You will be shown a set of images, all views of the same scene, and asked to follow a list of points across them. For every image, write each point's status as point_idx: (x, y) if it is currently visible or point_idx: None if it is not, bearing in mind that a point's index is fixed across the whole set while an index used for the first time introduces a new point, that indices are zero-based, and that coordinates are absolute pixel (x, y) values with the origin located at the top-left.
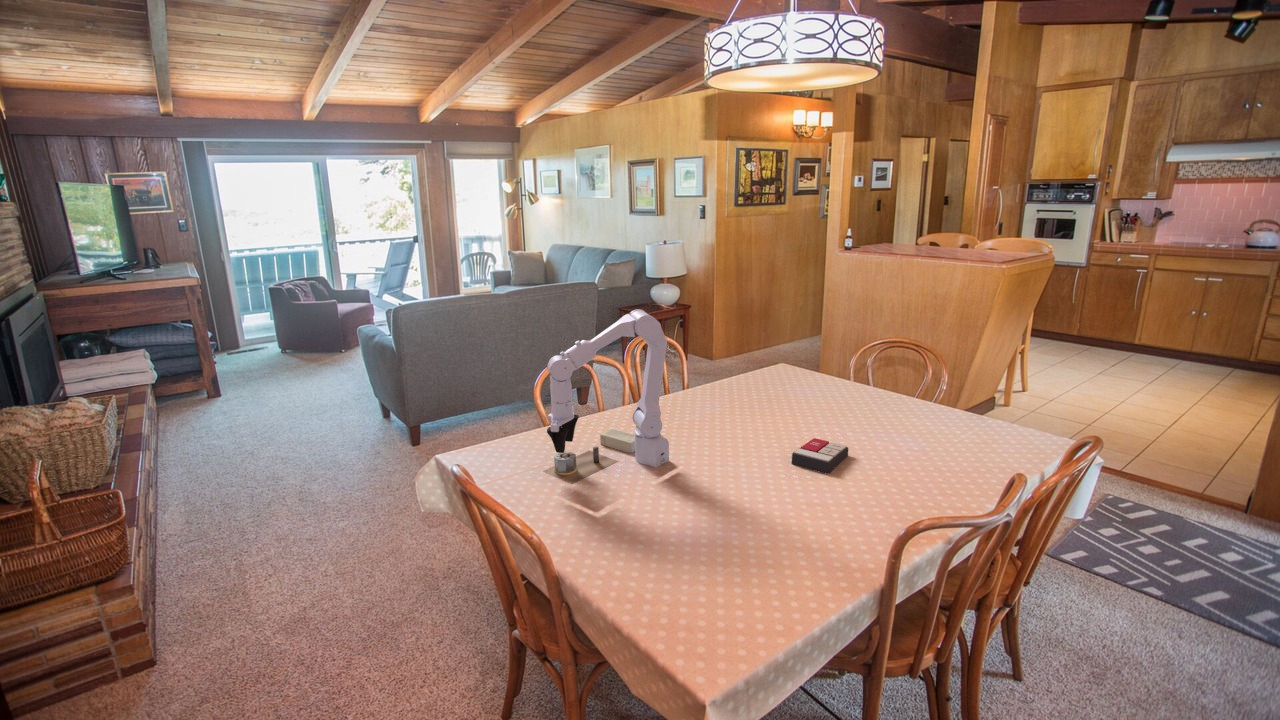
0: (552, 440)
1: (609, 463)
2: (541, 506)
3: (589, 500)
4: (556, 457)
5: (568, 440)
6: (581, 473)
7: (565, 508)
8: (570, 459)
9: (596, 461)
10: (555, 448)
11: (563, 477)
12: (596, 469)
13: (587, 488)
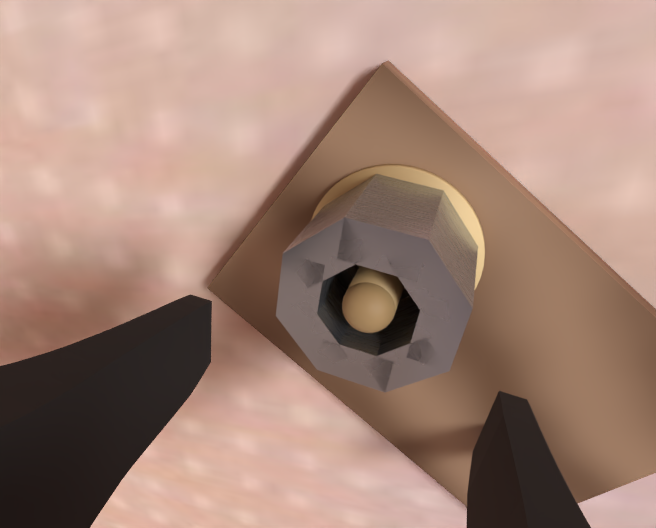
0: (33, 360)
1: None
2: (2, 125)
3: None
4: (326, 240)
5: (483, 433)
6: None
7: (27, 245)
8: (303, 346)
9: None
10: (151, 314)
11: (280, 236)
12: (392, 420)
13: (217, 345)
